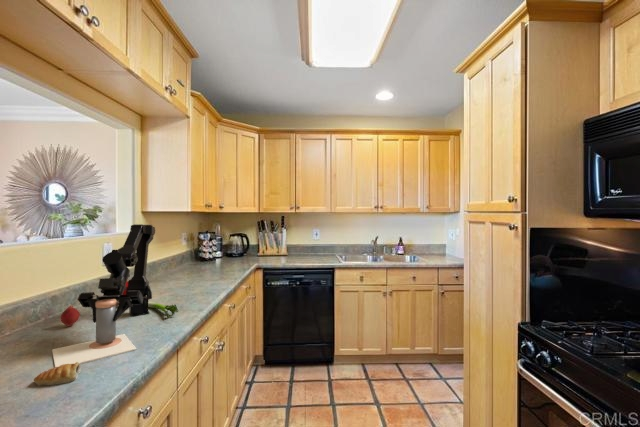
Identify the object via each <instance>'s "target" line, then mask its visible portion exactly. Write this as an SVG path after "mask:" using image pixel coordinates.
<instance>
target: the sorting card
mask: <svg viewBox="0 0 640 427" xmlns="http://www.w3.org/2000/svg"><path fill="white" fill-rule="evenodd" d="M133 351H137V347H136V346H135V345H134V344H133V342H132V341H131V339H130V338H128V336H127V335H126V334H125V333H123V334H118V335H117V334H116V339H115V340H113V341H111V342H107V343H96V339H94V340H89V341H86V342H81V343H80V342H79V343H77V344H76V343H75V344H71V345H67V346H61V347H57V348H54V349H51V353H52V357H53V363H54V367H59V366H61V365H63V364H75V363H76V362H78V363H79V364H80V365H81V364H82V365H83V364H86V363H90V362H95V361H98V360H101V359H105V358H110V357H113V356H117V355H122V354H127V353H129V352H133Z"/></svg>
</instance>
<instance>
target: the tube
mask: <svg viewBox="0 0 640 427" xmlns="http://www.w3.org/2000/svg"><path fill="white" fill-rule="evenodd" d="M95 307H96V323H95V340H96V343H107V342H111V341H113V340H115V339H116V336H117V333H116V330H117V327H116V326H117V325H116V324H117V320H116V321H115V322H114V321H113V319H114V315H115V312H116V310H117V301H116V299H104V300H99V301H97V302H96V305H95Z"/></svg>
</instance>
